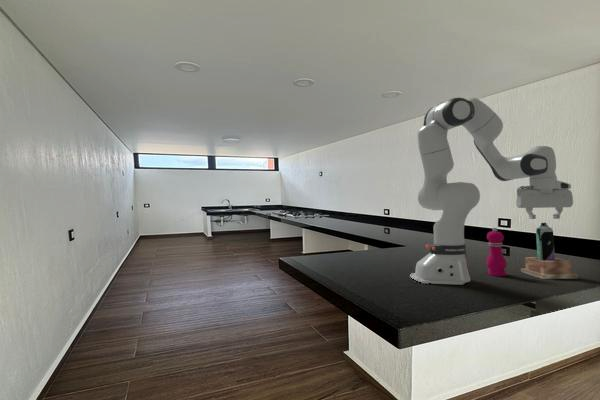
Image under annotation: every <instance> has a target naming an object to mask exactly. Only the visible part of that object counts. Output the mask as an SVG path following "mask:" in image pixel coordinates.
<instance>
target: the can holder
mask: <svg viewBox="0 0 600 400" xmlns="http://www.w3.org/2000/svg"><path fill="white" fill-rule="evenodd" d="M524 260H525V261H524V263H525V267H523V268H520V272H521V273H524V274H527V275H528V276H529V275H530V276H533V277H536V278H540V279H543V280H557V279H558V280H560V279H563V280H564V279H565V280H566V279H570V280H572V279H579V277H580V276H579V274H577V273H574V272H573V265H572V260H567V259H563V258H559V257H555V261H543V260H539V259H538V256H530V257H529V256H527V257H524Z"/></svg>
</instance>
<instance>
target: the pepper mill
mask: <svg viewBox="0 0 600 400" xmlns="http://www.w3.org/2000/svg"><path fill="white" fill-rule="evenodd" d="M504 238H505V237H504V235H503V233H502V232H501V231H498V228H497V227H494V226H493V227H492V231H489V232H487V234H486V240H487V241H488V247H489V255H488V256H487V258H486V266H487V267H488V270H487V272H488V275H490V276H495V277H505V276H506V275H507V271H506V270H505V269H507V266H508V265H507V260H506V259H505V257H504V254H503V250H502V247H503V241H504V240H505V239H504Z"/></svg>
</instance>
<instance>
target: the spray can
mask: <svg viewBox="0 0 600 400" xmlns="http://www.w3.org/2000/svg"><path fill="white" fill-rule="evenodd" d="M535 229H536V230H535V236H536V250H537V251H536V253H537V254H536V255H537V257H538V259H539V260H543V261H555V258H556V253H555V239H554V229H553V228H552V227H550V226H549V225H548V224H547V222H541V223H540V225H539V226H538V227H536V228H535Z"/></svg>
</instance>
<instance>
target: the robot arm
mask: <svg viewBox="0 0 600 400" xmlns="http://www.w3.org/2000/svg"><path fill="white" fill-rule="evenodd" d="M460 126H462V127H464V129H465V130H467V132H468V133H469V134H470V135H471V136H472V138H473V143H474V146H475V148H476V150H477V151H478V152H479V154H480V155H481V156H482V157H483V159H484V160H485V161H486V163H487V164H488V165H489V167H490V169H491V172H492V173H493V176H494V178H497V180H498V181H501V182H508V181H513V180H518V179H524V178H526V179H527V178H529V179H528V180H529V185H526V186H525V185H521V186H519V187H518V188H516V202H515V205H516V207H517V208H518V209H525V211H526V213H527V214H528V217H529V219H530V220H536V218H537V217H536V216H537V215H536V214H534V213H533V210H534V209H537V208H539V209H542V208H544V209H545V208H547V209H548V208H555V213H553V214H552V218H553V219H556V220H558V219H561V214H562V212H563V211H564V208H571V207H573V205H574V197H573V192H572V191H571V188H572V185H571V183H568V182H564V181H561V180H558V177H557V174H556V169H557V158H556V154H555V151H554V148H552V147H551V146H545V145H541V146H540V145H538V146H537V145H536V146H534V147H531V148H530V150H528V151H527V152H525V153H522V154H519V155H514V156H510V157H508V156H507V157H506V156H504V155H502V154H501V153H500V151H499V150H498V148H497V147H496V145H494V144H495V143H494V141H495V140H496V139H497V138H498V137H499V136H500V135H501V133H502V131H503V129H504V127H503V126H504V123H503V121H502V119H501V118H500V116H499V115H498V114H497V113H496V112H495V111H494V110H493V109H492V107H491V108H490V106H488V105H487V104H486V103H484V102H483V101H482V100H480V99H478V98H476V97H472V98H470V97H469V98H468V99H466V98H465V97H464V98H463V97H453V98H450V99H449V100H446V101H442V102H440V103H438V104H436V105H435V106H433V107H431V108H430V109H428V110H427V111H426V113H425V115H424V118H423V126H422V127H421V128H419V130H418V132H417V144H418V145H417V146H418V151H419V154H420V159H421V162H422V166H423V171H424V181H423V185H422V187H421V188H420V190H419V191H418V195H417V200H418V204H419V205H420V206H421V207H422V208H424V209H426V210H431V211H442V215H441V217H440V219H438V220H437V221H435V223H434V224H433V226H432V227H433V228H432V229H433V243H432V244H426V245H425V248H426V250H429V253H427V254H426V255H425V256H424V257H422V258H420V259H419V260H418V261H417V262H416V265H415V272H412V273H410V274H409V278H410V277H411V278H412V279H414V280H416V281H418V282H417V283H419V282H421V283H420V284H429V283H431V284H432V285H434V284H435V285H460V286H462V285H465V283H469V282H471V277H470V275H469V274H470V273H469V271H468V270H469V269H468V267H467V266H468V265H467V260H466V258H467V248H466V244H465V224H466V220H467V217H468V215H469V214H470V212H471V211H472V210H473V209H475V208H476V206H477V205H478V204H479V202H480V198H481V193H480V191H479V188H478V187H477V186H476V184H474V183H471V182H464V181H457V182H455V181H454V182H448V179H447V177H448V174H449V173H450V172H452V170H453V169H454V165H455V163H454V160H453V155H452V152H451V147H450V144H449V141H448V132H449V130H452V129H454V128H456V127H460ZM411 278H410V279H411ZM412 279H411V280H412ZM414 280H413V281H414ZM416 281H415V282H416Z"/></svg>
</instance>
